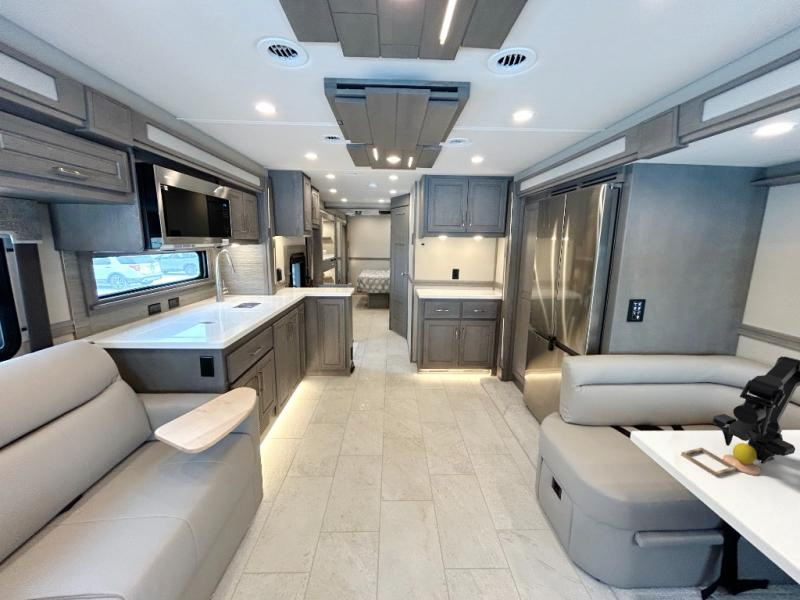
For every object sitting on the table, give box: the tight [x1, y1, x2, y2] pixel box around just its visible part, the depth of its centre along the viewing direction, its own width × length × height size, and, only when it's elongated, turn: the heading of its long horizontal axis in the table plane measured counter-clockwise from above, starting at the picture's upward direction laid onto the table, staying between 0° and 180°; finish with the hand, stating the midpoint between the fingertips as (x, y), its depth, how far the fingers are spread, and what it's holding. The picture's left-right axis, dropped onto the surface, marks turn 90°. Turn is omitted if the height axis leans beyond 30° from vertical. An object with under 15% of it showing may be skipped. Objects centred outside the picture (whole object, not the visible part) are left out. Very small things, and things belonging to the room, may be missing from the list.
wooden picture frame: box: [680, 447, 738, 478], centre depth 110 cm, size 11×11×1 cm
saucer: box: [722, 454, 761, 476], centre depth 109 cm, size 9×9×1 cm
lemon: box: [732, 442, 757, 464], centre depth 108 cm, size 6×6×8 cm
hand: (744, 454), depth 108 cm, fingers open, 9 cm apart
